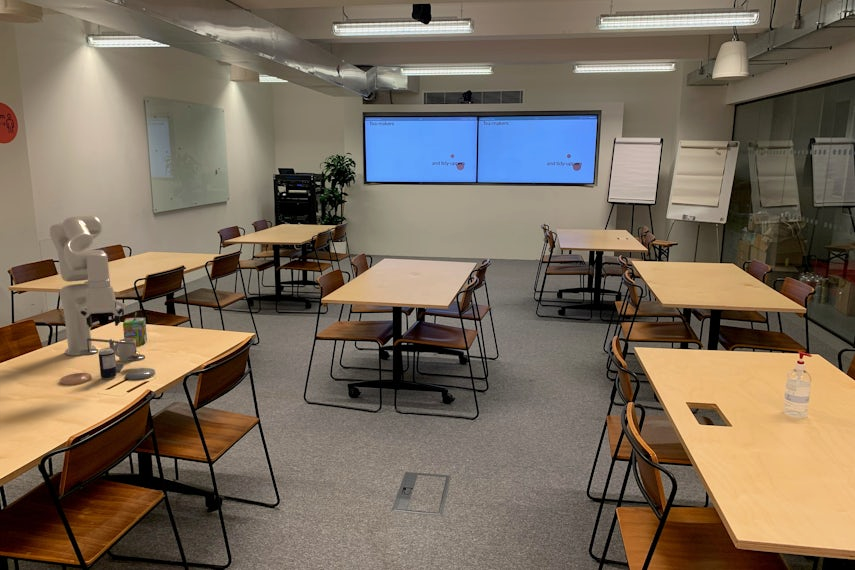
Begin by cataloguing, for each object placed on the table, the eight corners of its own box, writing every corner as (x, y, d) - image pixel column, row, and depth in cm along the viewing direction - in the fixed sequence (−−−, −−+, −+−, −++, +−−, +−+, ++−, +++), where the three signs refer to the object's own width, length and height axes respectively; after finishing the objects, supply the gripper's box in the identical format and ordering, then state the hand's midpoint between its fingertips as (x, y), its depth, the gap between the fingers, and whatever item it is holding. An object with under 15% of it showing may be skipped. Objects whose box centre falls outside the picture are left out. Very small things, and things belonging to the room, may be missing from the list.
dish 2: (128, 372, 259) (128, 369, 258) (157, 369, 262) (156, 367, 261) (123, 381, 248) (123, 378, 248) (153, 378, 251) (152, 376, 251)
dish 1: (65, 376, 252) (64, 374, 252) (94, 374, 255) (94, 371, 255) (56, 386, 242) (56, 383, 242) (87, 383, 245) (87, 381, 245)
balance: (84, 369, 262) (80, 336, 259) (147, 364, 268) (144, 332, 265) (79, 375, 254) (75, 341, 251) (144, 370, 261) (141, 337, 258)
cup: (131, 362, 270) (129, 343, 268) (109, 361, 271) (107, 342, 269) (140, 357, 277) (138, 338, 275) (119, 356, 278) (117, 337, 276)
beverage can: (119, 375, 255) (116, 347, 252) (112, 380, 249) (109, 352, 247) (105, 375, 254) (102, 347, 252) (98, 380, 249) (95, 352, 246)
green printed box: (127, 341, 302) (124, 311, 298) (147, 339, 304) (145, 310, 301) (124, 346, 293) (121, 316, 290) (145, 344, 296) (142, 315, 293)
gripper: (72, 287, 238) (77, 329, 241) (121, 284, 243) (125, 326, 246) (77, 283, 245) (82, 324, 249) (125, 281, 250) (129, 322, 253)
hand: (103, 325), depth 247 cm, fingers open, 9 cm apart
